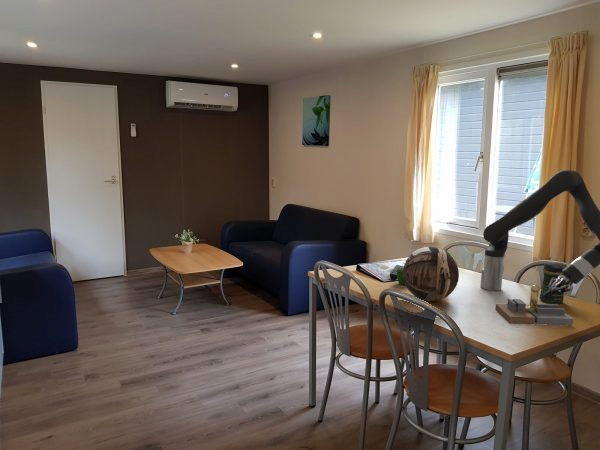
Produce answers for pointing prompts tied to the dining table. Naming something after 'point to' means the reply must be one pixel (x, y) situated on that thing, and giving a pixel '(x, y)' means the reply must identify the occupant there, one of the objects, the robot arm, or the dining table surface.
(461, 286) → the dining table surface
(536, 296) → the bolt
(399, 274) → the bell pepper
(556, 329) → the dining table surface
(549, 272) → the coffee jar
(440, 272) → the sphere
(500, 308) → the door edge model
